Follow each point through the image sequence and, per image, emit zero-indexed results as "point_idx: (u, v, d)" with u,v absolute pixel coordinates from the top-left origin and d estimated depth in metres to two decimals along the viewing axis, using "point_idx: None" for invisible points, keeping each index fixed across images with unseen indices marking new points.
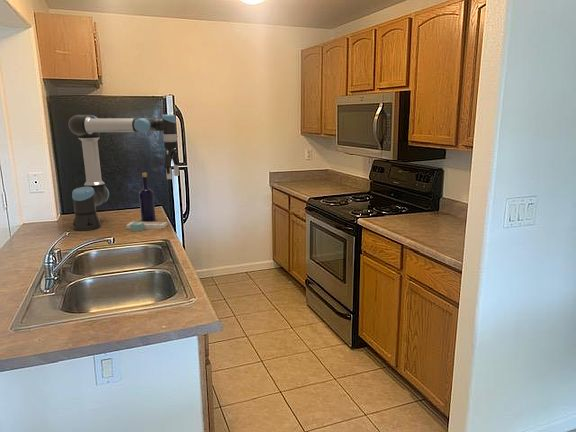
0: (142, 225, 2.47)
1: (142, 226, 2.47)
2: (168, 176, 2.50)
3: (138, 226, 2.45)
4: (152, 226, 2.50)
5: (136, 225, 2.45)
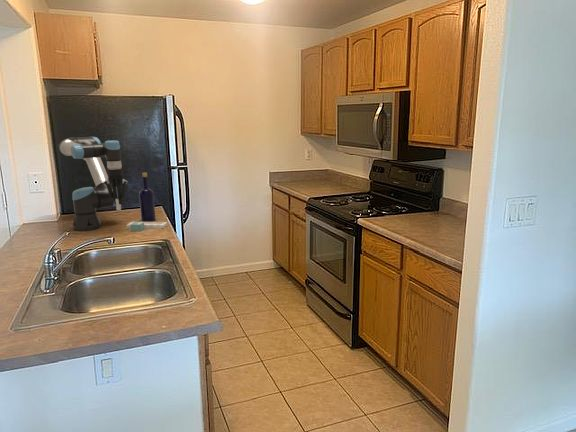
0: (142, 225, 2.47)
1: (142, 226, 2.47)
2: None
3: (138, 226, 2.45)
4: (152, 226, 2.50)
5: (136, 225, 2.45)
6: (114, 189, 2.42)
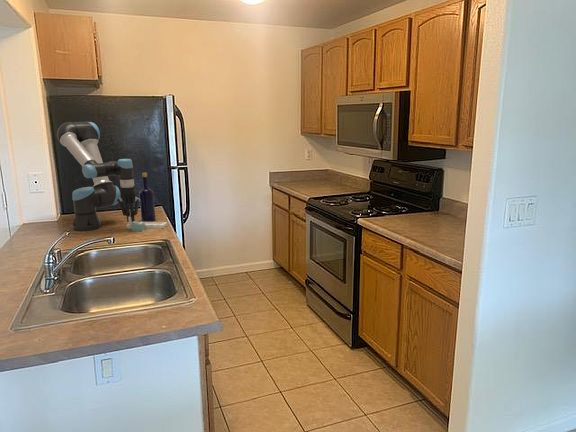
0: (143, 225, 2.47)
1: (143, 226, 2.47)
2: None
3: (139, 226, 2.44)
4: (152, 226, 2.50)
5: (137, 225, 2.44)
6: (127, 207, 2.43)
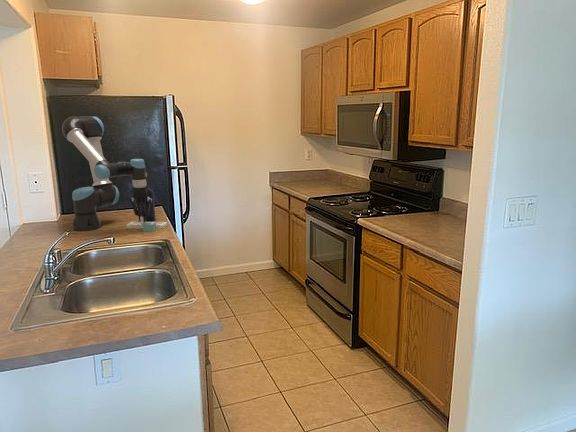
0: (154, 225, 2.46)
1: (154, 226, 2.46)
2: None
3: (150, 226, 2.44)
4: None
5: (148, 225, 2.44)
6: (139, 207, 2.43)
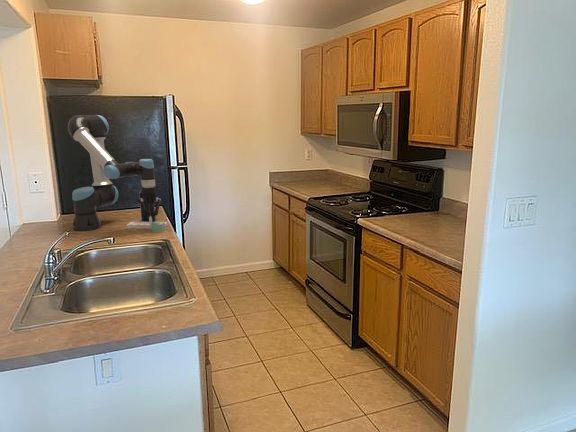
0: (163, 225, 2.46)
1: (163, 226, 2.46)
2: None
3: (159, 226, 2.43)
4: None
5: (157, 225, 2.44)
6: (148, 207, 2.43)
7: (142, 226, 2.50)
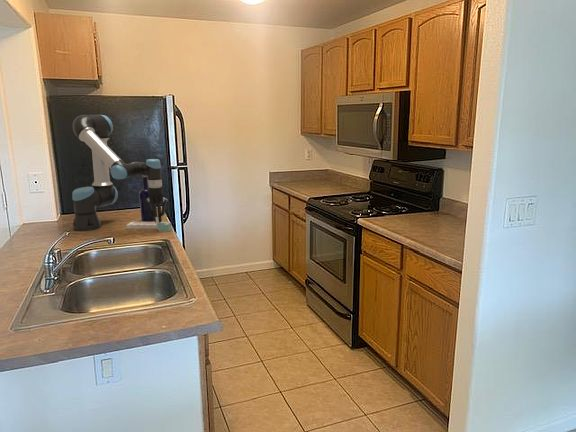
0: (169, 225, 2.46)
1: (169, 226, 2.46)
2: None
3: (166, 226, 2.43)
4: (152, 226, 2.50)
5: (164, 225, 2.43)
6: (154, 207, 2.43)
7: (142, 226, 2.50)
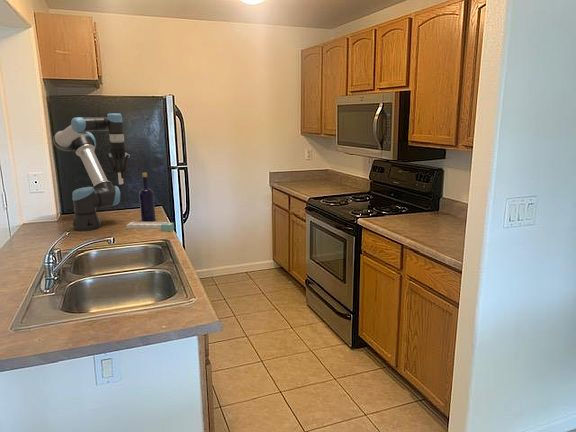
0: (172, 225, 2.46)
1: (172, 226, 2.46)
2: None
3: (168, 226, 2.43)
4: (152, 226, 2.50)
5: (166, 225, 2.43)
6: (116, 163, 2.40)
7: (142, 226, 2.50)
